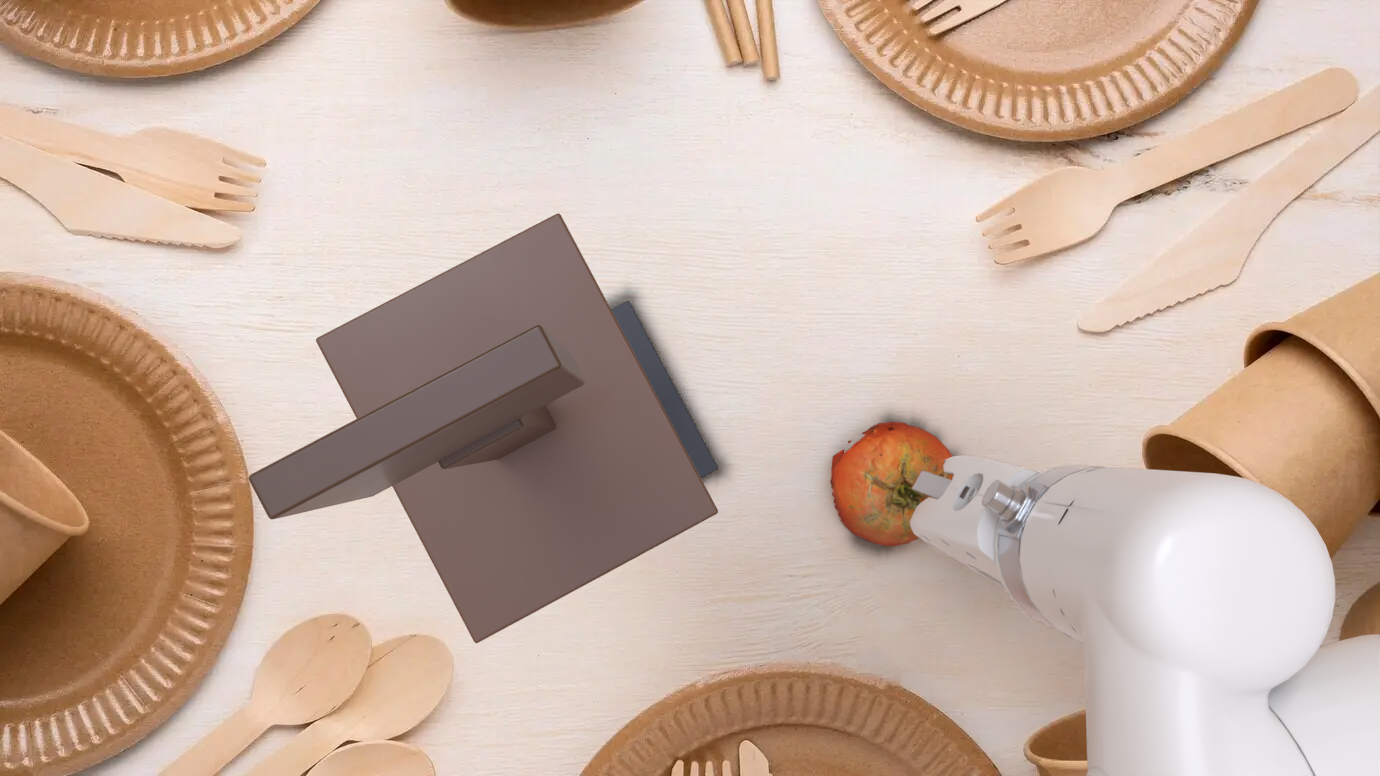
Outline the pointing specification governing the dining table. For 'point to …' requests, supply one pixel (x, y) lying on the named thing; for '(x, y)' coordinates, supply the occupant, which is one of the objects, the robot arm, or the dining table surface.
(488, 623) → the stand
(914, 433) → the tomato
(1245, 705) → the robot arm
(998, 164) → the dining table surface
